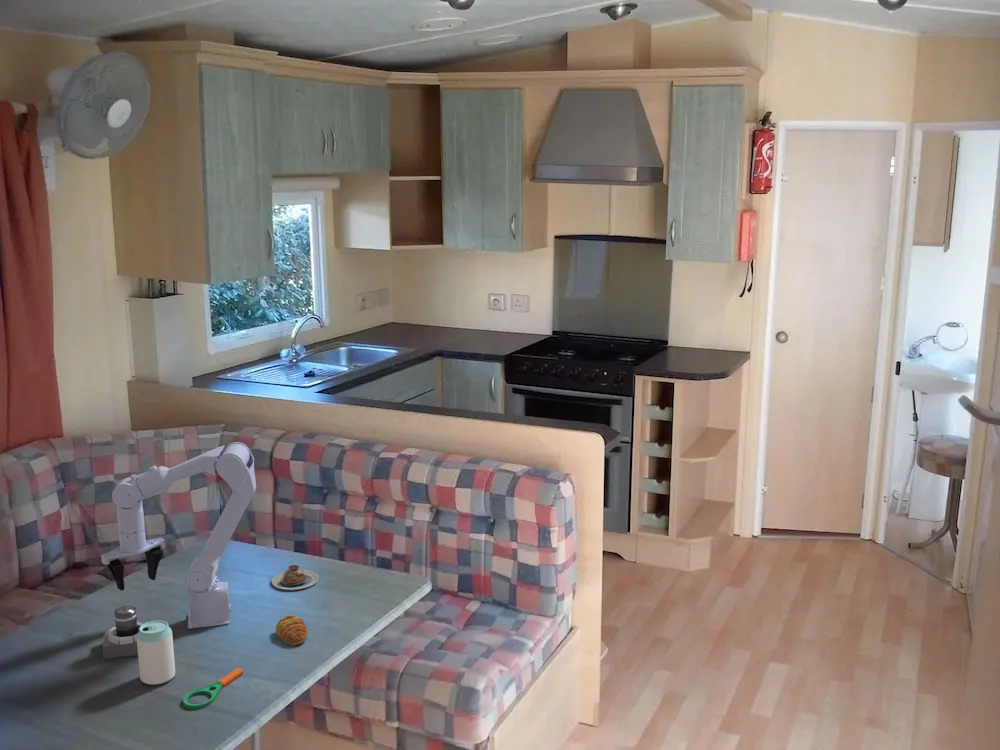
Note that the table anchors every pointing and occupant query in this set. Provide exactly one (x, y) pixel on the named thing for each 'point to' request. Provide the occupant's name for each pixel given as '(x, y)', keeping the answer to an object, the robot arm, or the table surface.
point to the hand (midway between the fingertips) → (136, 583)
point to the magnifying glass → (214, 687)
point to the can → (155, 652)
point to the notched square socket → (119, 644)
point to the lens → (126, 621)
